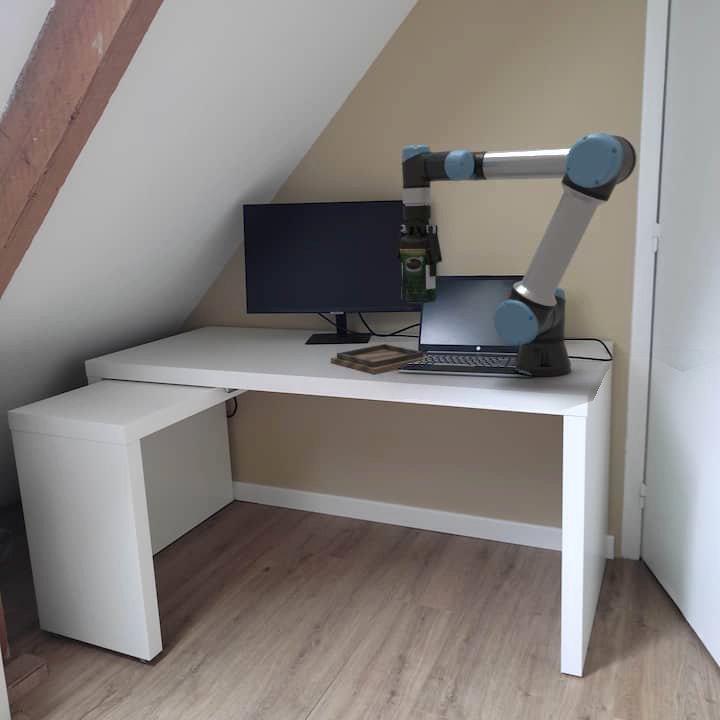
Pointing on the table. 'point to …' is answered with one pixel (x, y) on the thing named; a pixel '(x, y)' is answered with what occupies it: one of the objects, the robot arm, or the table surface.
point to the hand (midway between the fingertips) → (418, 287)
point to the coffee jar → (415, 270)
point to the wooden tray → (378, 358)
